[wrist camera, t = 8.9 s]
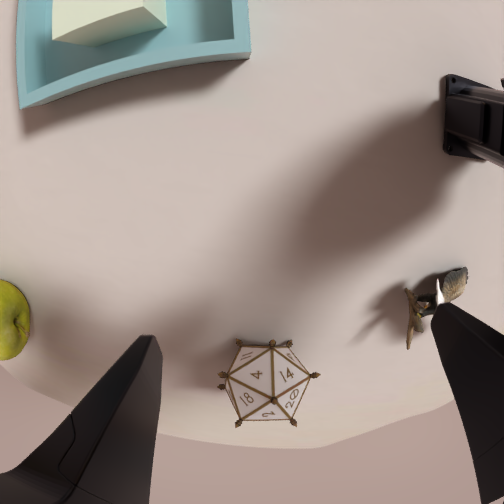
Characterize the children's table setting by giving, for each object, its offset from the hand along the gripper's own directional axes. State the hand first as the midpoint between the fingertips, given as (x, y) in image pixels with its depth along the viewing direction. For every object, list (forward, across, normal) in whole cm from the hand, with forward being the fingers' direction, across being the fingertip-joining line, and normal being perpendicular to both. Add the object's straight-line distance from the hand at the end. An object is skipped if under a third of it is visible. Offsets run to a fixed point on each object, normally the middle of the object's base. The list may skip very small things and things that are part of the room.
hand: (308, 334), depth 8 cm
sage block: (+12, +8, -14) cm, 20 cm away
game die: (+13, +1, +16) cm, 21 cm away
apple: (+13, +27, +8) cm, 31 cm away
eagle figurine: (+13, -17, +11) cm, 24 cm away
